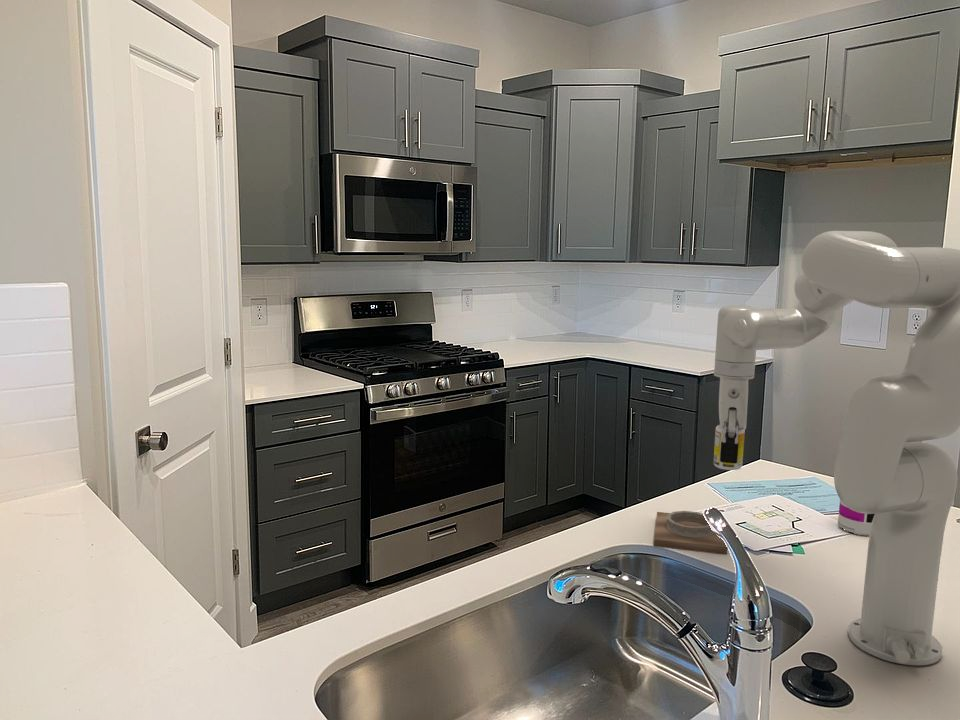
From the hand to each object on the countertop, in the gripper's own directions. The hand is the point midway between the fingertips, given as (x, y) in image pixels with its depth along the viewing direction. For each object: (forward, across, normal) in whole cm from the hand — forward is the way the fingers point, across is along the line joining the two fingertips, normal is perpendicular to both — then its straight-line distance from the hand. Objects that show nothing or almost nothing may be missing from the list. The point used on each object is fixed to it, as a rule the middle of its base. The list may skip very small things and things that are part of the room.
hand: (727, 457), depth 152 cm
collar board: (+18, +1, +6) cm, 19 cm away
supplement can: (+18, +16, -28) cm, 37 cm away
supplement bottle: (+2, 0, 0) cm, 2 cm away
